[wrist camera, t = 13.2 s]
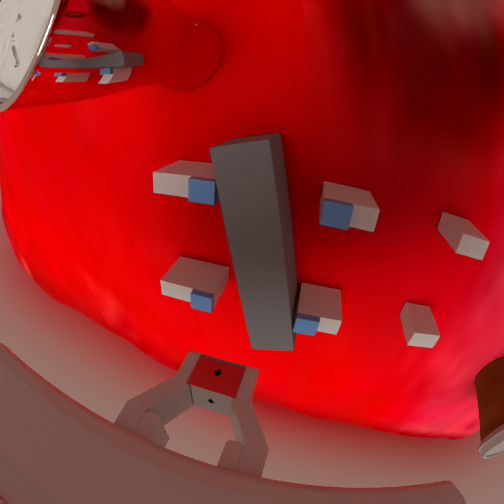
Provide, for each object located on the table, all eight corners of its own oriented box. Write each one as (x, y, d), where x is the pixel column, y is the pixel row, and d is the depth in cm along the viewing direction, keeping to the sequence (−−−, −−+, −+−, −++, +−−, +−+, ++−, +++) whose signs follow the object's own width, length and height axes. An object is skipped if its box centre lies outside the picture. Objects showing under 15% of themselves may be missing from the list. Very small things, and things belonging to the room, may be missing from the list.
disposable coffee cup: (486, 350, 23) (511, 431, 12) (528, 345, 20) (555, 412, 10) (454, 394, 27) (465, 466, 17) (497, 388, 25) (512, 450, 15)
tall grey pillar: (280, 132, 18) (268, 139, 14) (299, 311, 26) (293, 350, 21) (234, 138, 19) (209, 148, 15) (263, 310, 27) (252, 348, 22)
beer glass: (217, 102, 18) (39, 120, 5) (140, 91, 18) (-30, 118, 6) (240, 18, 14) (100, -81, 2) (159, 15, 15) (-1, -19, 2)
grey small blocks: (467, 219, 17) (493, 246, 13) (422, 317, 23) (433, 352, 19) (179, 160, 21) (148, 174, 17) (181, 269, 26) (158, 298, 22)
